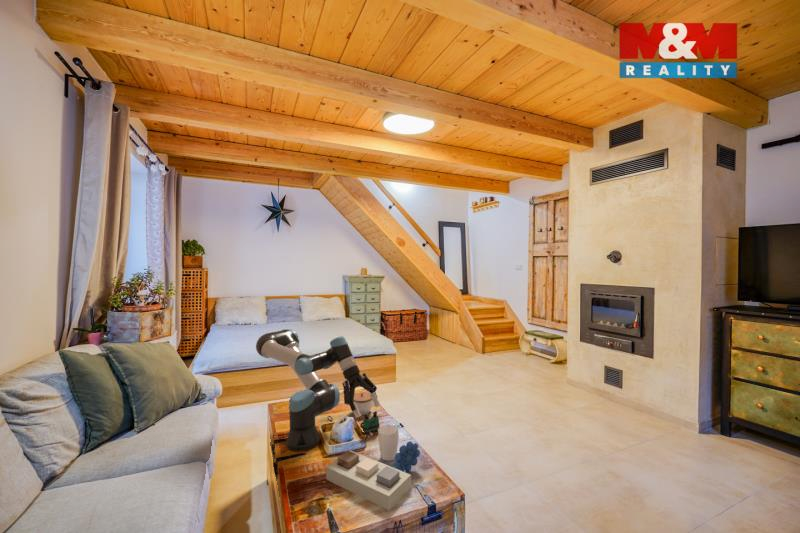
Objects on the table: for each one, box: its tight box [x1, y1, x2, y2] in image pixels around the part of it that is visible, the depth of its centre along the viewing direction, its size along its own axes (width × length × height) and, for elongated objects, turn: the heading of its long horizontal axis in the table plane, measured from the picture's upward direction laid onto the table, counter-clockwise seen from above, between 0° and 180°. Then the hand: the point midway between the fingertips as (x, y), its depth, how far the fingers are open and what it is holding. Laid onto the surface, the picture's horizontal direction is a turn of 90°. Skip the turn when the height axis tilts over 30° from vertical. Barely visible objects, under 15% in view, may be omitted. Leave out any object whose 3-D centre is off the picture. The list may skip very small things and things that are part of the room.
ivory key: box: [356, 458, 378, 479], centre depth 133 cm, size 6×6×4 cm
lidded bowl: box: [353, 391, 374, 416], centre depth 195 cm, size 13×13×11 cm
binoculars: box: [359, 411, 381, 438], centre depth 172 cm, size 9×11×10 cm
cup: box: [377, 424, 400, 462], centre depth 150 cm, size 9×9×12 cm
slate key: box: [377, 466, 400, 488], centre depth 127 cm, size 6×6×4 cm
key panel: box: [325, 450, 412, 511], centre depth 133 cm, size 31×14×5 cm, turn 55°
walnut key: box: [337, 450, 359, 470], centre depth 138 cm, size 6×6×4 cm
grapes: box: [393, 441, 421, 473], centre depth 140 cm, size 12×7×12 cm, turn 115°
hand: (368, 411), depth 156 cm, fingers open, 13 cm apart
